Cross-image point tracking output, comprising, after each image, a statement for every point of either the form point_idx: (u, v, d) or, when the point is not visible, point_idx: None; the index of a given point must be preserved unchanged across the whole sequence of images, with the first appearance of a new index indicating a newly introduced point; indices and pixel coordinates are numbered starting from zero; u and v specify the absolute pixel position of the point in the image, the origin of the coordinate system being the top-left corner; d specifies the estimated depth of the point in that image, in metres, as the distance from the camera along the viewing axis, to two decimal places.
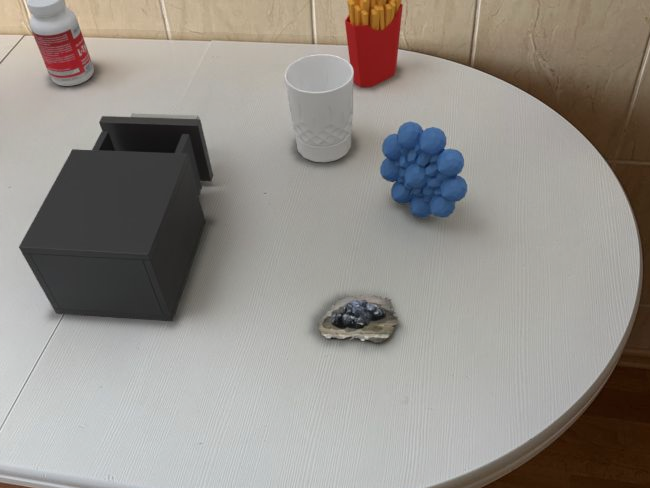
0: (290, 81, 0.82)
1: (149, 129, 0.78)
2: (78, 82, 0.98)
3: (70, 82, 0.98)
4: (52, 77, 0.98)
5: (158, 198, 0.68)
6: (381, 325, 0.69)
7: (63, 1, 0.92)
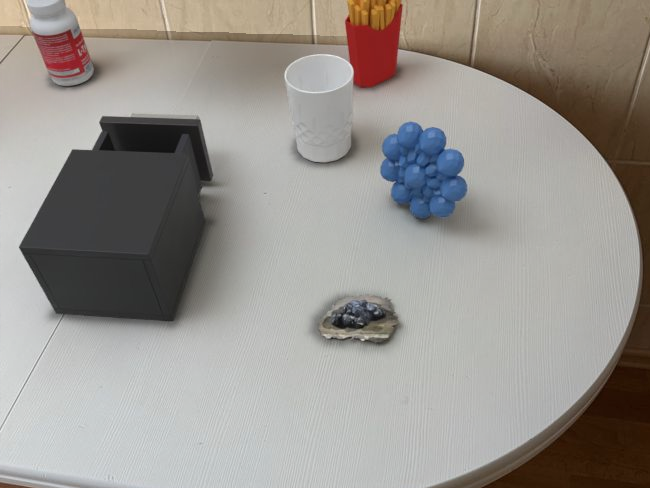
0: (290, 81, 0.82)
1: (149, 129, 0.78)
2: (78, 82, 0.98)
3: (70, 82, 0.98)
4: (52, 77, 0.98)
5: (158, 198, 0.68)
6: (381, 325, 0.69)
7: (63, 1, 0.92)
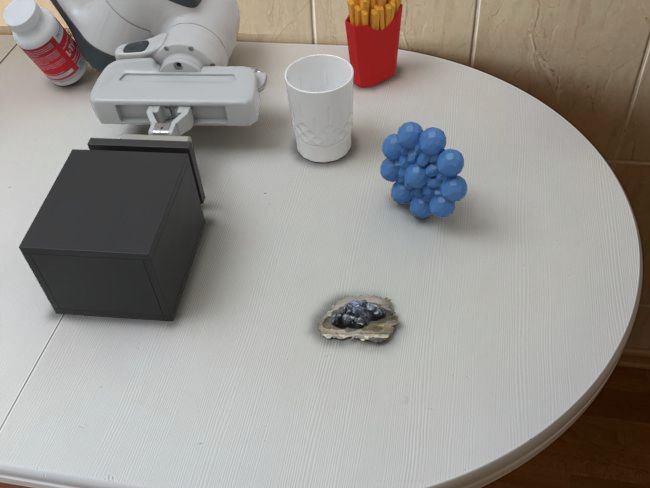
0: (290, 81, 0.82)
1: (139, 151, 0.76)
2: (75, 80, 0.98)
3: (68, 82, 0.97)
4: (50, 79, 0.98)
5: (158, 198, 0.68)
6: (381, 325, 0.69)
7: (38, 10, 0.89)
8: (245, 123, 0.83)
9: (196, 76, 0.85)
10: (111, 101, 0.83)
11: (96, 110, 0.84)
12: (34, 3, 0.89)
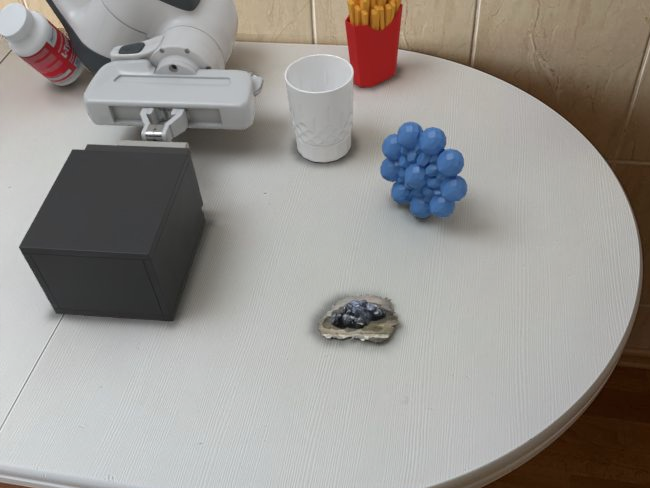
0: (290, 81, 0.82)
1: None
2: (74, 79, 0.97)
3: (67, 82, 0.97)
4: (49, 80, 0.98)
5: (158, 198, 0.68)
6: (381, 325, 0.69)
7: (29, 17, 0.88)
8: (240, 127, 0.82)
9: (191, 79, 0.84)
10: (104, 102, 0.82)
11: (89, 111, 0.83)
12: (25, 10, 0.88)
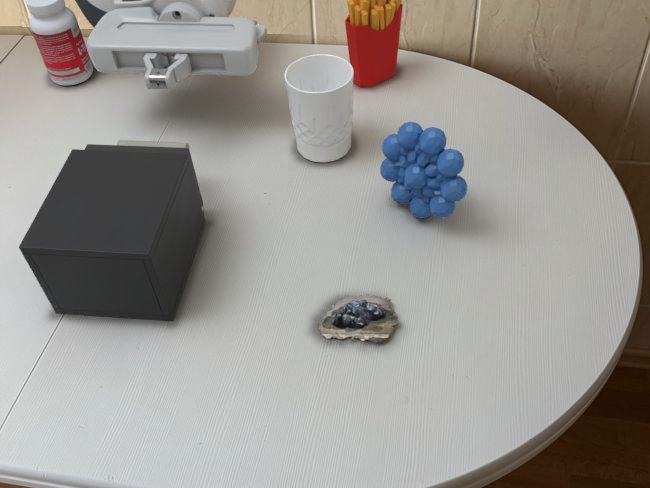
0: (290, 81, 0.82)
1: None
2: (78, 81, 0.98)
3: (71, 81, 0.98)
4: (52, 77, 0.98)
5: (158, 198, 0.68)
6: (381, 325, 0.69)
7: (63, 0, 0.92)
8: (243, 72, 0.82)
9: (195, 26, 0.84)
10: (108, 47, 0.82)
11: (92, 57, 0.83)
12: None
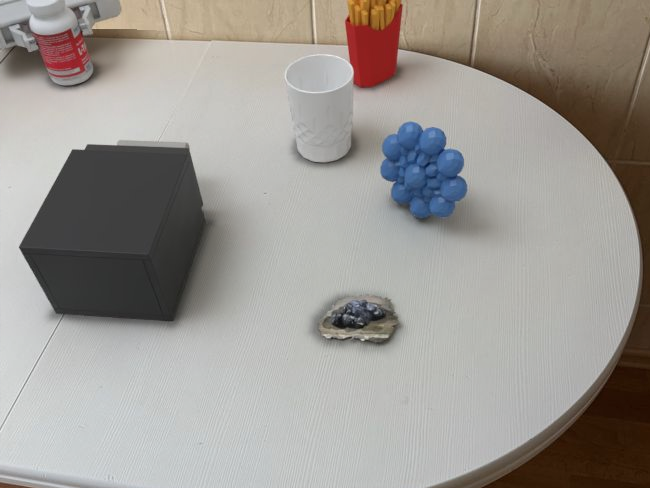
0: (290, 81, 0.82)
1: None
2: (79, 81, 0.98)
3: (71, 81, 0.98)
4: (52, 77, 0.98)
5: (158, 198, 0.68)
6: (381, 325, 0.69)
7: (63, 0, 0.92)
8: (115, 14, 1.01)
9: None
10: None
11: None
12: None
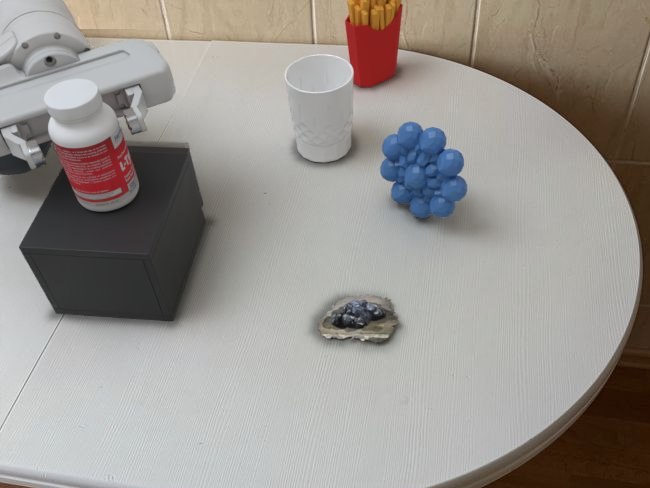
0: (290, 81, 0.82)
1: None
2: (119, 206, 0.67)
3: (108, 207, 0.67)
4: (81, 200, 0.67)
5: (158, 198, 0.68)
6: (381, 325, 0.69)
7: (99, 97, 0.61)
8: (166, 98, 0.69)
9: (77, 66, 0.68)
10: None
11: None
12: (96, 87, 0.61)
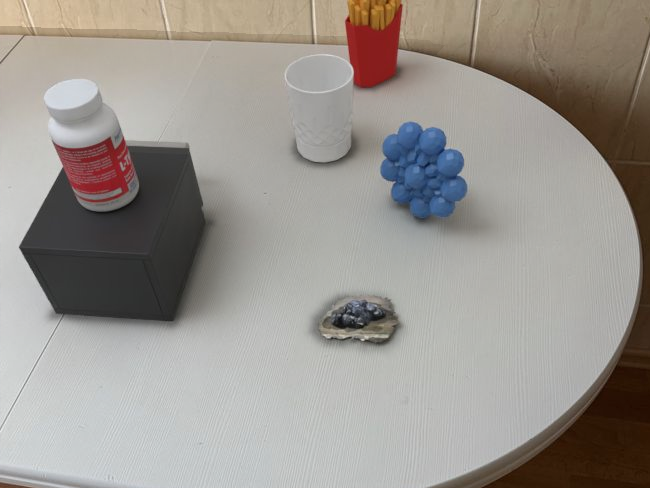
0: (290, 81, 0.82)
1: None
2: (119, 206, 0.67)
3: (108, 207, 0.67)
4: (81, 200, 0.67)
5: (158, 198, 0.68)
6: (381, 325, 0.69)
7: (99, 97, 0.61)
8: None
9: None
10: None
11: None
12: (96, 87, 0.61)
